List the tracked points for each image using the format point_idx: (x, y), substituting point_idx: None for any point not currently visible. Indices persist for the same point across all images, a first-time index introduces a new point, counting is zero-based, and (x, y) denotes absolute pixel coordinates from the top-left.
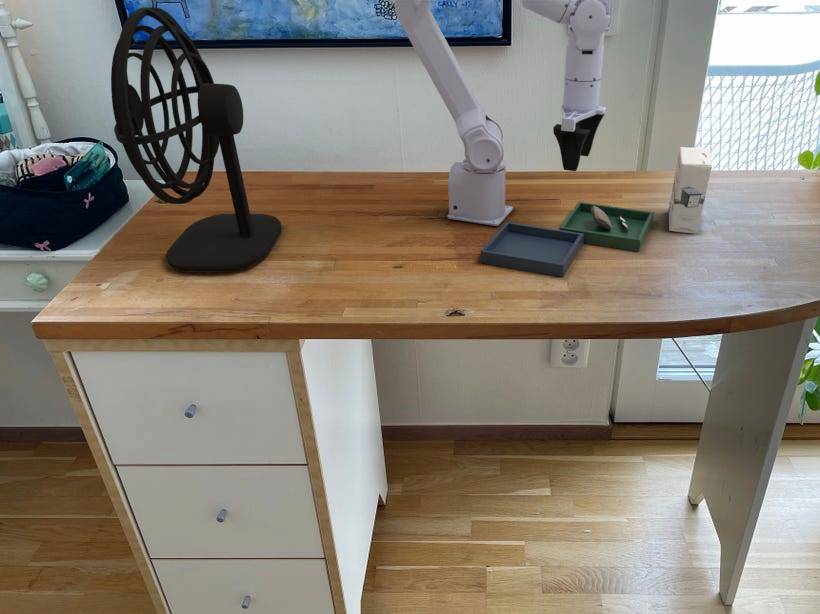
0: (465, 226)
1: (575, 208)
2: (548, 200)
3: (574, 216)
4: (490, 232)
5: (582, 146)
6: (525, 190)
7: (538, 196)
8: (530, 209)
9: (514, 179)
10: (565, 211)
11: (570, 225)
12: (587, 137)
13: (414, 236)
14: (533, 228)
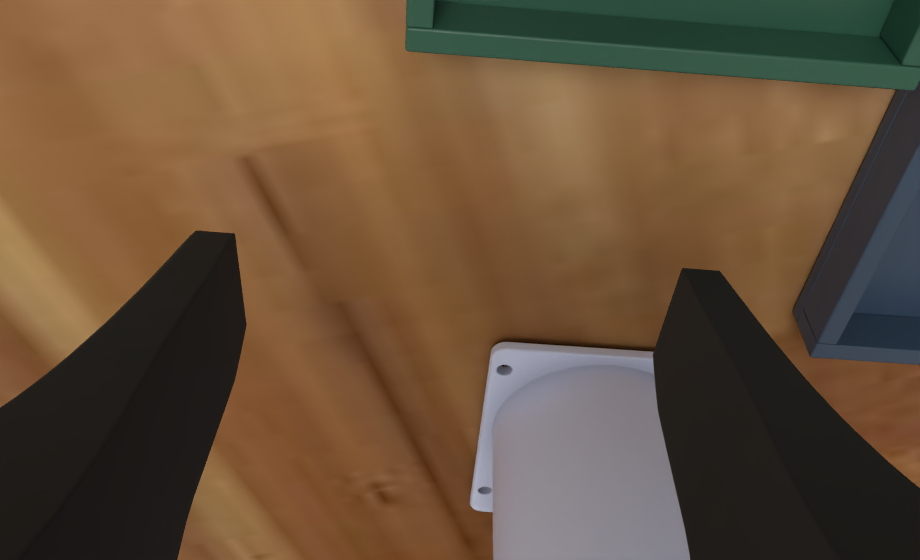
0: None
1: (549, 49)
2: (287, 212)
3: (603, 25)
4: None
5: (801, 454)
6: None
7: (254, 268)
8: (456, 269)
9: None
10: (421, 91)
11: (707, 21)
12: (168, 407)
13: None
14: (896, 227)
